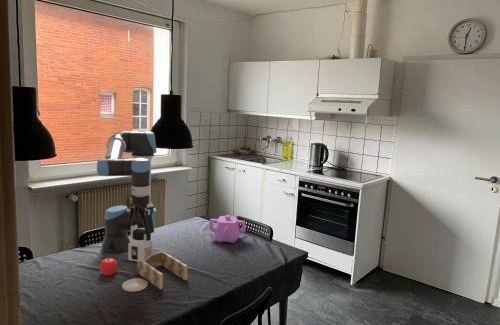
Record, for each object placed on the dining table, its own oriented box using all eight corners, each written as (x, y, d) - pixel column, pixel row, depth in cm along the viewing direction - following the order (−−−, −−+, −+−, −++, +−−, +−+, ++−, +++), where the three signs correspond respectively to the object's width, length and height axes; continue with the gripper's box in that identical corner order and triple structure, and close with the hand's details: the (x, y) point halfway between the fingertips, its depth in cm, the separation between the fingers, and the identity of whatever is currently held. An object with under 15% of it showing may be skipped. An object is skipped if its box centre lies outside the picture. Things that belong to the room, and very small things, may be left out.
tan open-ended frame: (136, 272, 183) (136, 258, 181) (162, 263, 193) (162, 250, 191) (160, 289, 168) (160, 274, 167) (187, 279, 178) (187, 265, 177)
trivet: (117, 284, 170) (117, 283, 170) (140, 277, 178) (140, 276, 178) (129, 294, 162) (129, 293, 162) (152, 286, 170) (152, 285, 170)
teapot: (225, 248, 216) (226, 223, 214) (204, 239, 229) (205, 215, 226) (248, 240, 230) (250, 216, 228) (227, 231, 242) (229, 209, 240)
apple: (120, 271, 182) (120, 256, 181) (109, 279, 175) (109, 262, 173) (107, 268, 185) (107, 253, 183) (95, 275, 177) (95, 259, 176)
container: (144, 262, 164) (144, 234, 161) (128, 260, 165) (127, 231, 162) (152, 255, 171) (152, 227, 169) (136, 252, 172) (136, 225, 170)
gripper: (119, 189, 168) (119, 237, 172) (147, 202, 152) (146, 253, 156) (134, 187, 173) (134, 233, 177) (163, 199, 158) (162, 249, 162)
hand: (140, 242), depth 167 cm, fingers closed on container, 10 cm apart
